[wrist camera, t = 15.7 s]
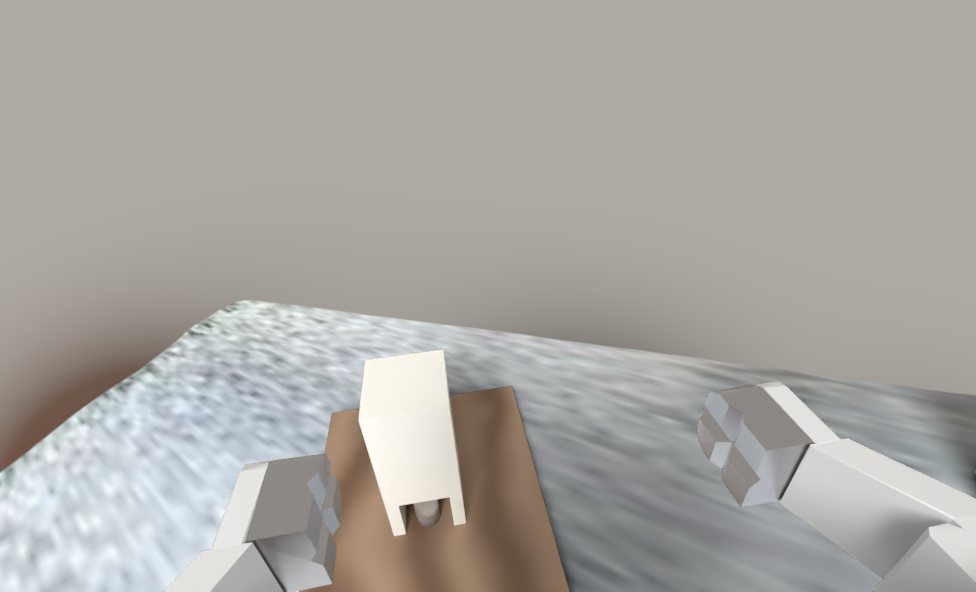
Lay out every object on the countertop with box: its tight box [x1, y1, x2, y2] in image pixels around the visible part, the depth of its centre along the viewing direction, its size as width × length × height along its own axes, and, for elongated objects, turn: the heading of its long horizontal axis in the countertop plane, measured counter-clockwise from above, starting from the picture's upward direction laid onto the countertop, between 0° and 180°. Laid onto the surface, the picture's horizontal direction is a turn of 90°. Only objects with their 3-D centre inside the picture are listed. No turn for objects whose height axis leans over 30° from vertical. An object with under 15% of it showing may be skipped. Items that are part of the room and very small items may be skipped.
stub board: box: [299, 386, 569, 592], centre depth 39 cm, size 20×24×4 cm
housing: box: [358, 350, 466, 536], centre depth 36 cm, size 6×6×14 cm
